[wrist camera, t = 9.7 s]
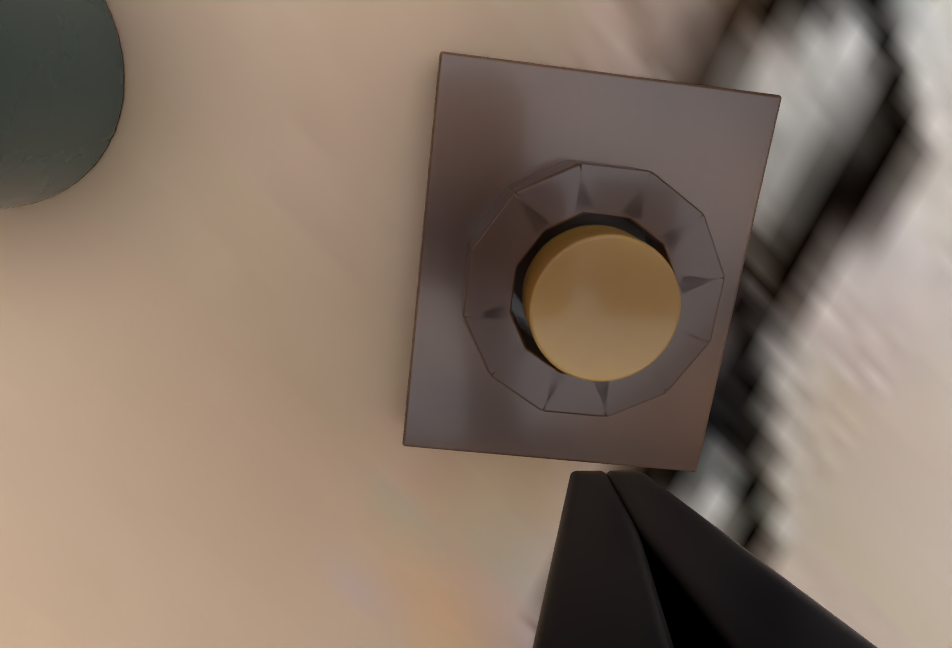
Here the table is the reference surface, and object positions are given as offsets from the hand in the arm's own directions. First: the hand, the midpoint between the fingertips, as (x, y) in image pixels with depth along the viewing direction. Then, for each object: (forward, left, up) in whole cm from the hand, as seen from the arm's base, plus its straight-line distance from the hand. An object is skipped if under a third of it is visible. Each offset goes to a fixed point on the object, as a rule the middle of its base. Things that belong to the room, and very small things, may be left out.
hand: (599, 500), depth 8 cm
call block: (0, -2, -13) cm, 13 cm away
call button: (0, -2, -10) cm, 10 cm away
